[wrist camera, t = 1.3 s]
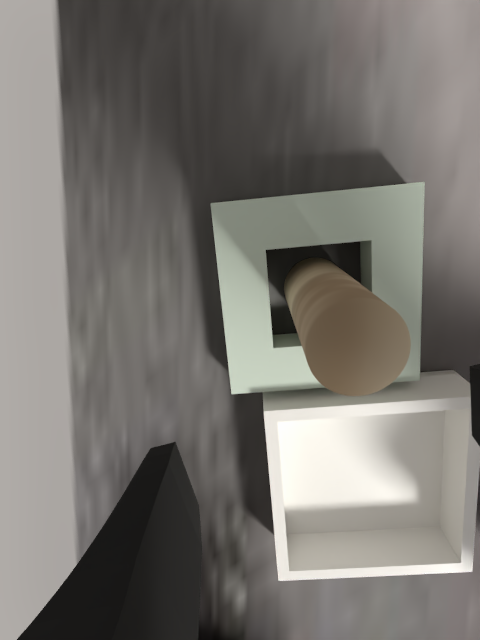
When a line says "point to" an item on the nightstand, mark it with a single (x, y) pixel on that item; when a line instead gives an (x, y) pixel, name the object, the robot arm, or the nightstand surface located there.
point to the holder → (308, 230)
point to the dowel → (345, 329)
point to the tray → (373, 479)
